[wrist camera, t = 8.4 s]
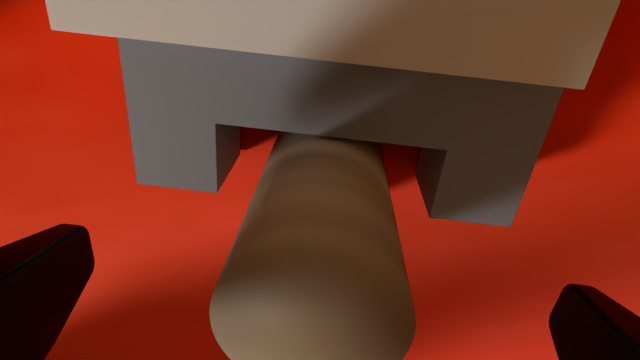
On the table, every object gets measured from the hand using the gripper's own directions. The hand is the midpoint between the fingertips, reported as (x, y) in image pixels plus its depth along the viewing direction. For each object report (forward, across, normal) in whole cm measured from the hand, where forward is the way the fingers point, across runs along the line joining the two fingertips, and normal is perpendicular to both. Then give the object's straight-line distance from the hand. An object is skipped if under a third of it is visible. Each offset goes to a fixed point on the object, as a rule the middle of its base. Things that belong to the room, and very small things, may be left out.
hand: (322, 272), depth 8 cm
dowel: (+6, 0, 0) cm, 6 cm away
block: (+6, 0, -1) cm, 6 cm away
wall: (+6, +1, -4) cm, 7 cm away
